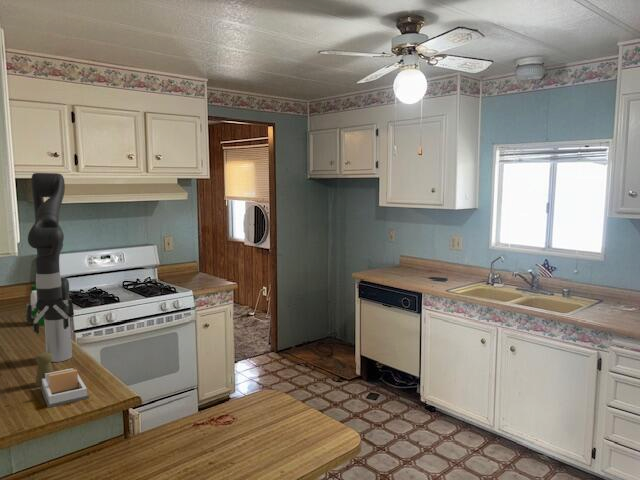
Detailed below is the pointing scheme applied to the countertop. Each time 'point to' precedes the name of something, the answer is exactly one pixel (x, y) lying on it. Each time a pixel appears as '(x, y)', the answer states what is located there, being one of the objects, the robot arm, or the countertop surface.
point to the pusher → (63, 381)
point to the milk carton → (34, 301)
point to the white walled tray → (63, 392)
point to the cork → (43, 366)
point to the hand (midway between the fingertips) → (51, 330)
